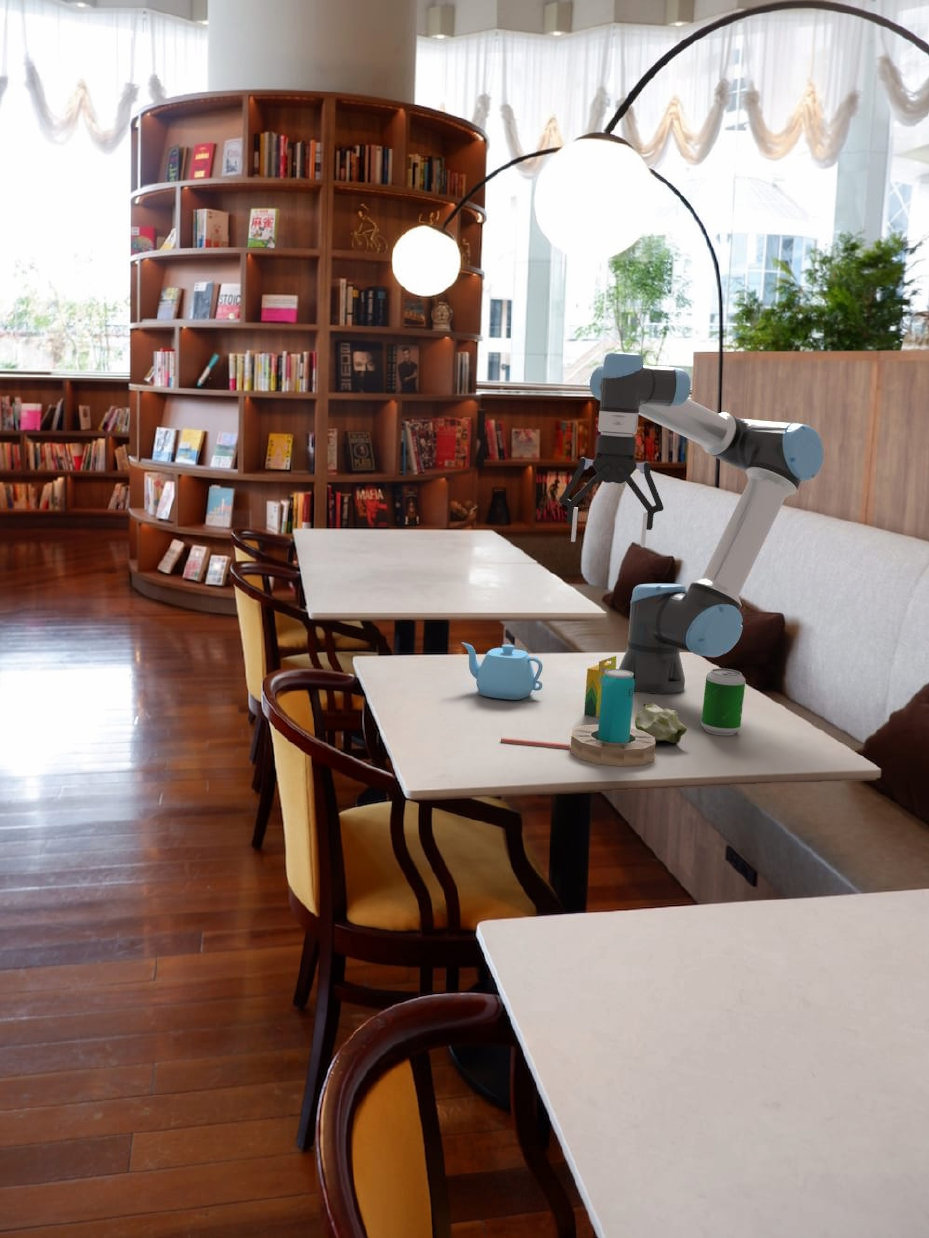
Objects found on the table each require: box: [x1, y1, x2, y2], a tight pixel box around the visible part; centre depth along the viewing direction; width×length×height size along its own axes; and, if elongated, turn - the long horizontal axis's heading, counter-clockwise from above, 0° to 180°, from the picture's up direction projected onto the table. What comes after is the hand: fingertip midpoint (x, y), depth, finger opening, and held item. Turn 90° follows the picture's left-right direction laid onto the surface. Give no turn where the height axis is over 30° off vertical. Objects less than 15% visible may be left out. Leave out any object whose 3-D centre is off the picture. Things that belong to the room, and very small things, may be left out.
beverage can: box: [597, 668, 635, 744], centre depth 215 cm, size 6×6×15 cm
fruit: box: [634, 702, 688, 745], centre depth 224 cm, size 9×9×8 cm
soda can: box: [701, 667, 746, 737], centre depth 233 cm, size 8×8×12 cm
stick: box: [500, 737, 571, 750], centre depth 218 cm, size 1×13×1 cm, turn 83°
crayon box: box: [583, 655, 617, 719], centre depth 241 cm, size 7×3×12 cm, turn 145°
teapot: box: [461, 641, 543, 701], centre depth 251 cm, size 13×11×18 cm
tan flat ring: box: [569, 723, 656, 767], centre depth 216 cm, size 15×15×3 cm
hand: (607, 543), depth 234 cm, fingers open, 13 cm apart
